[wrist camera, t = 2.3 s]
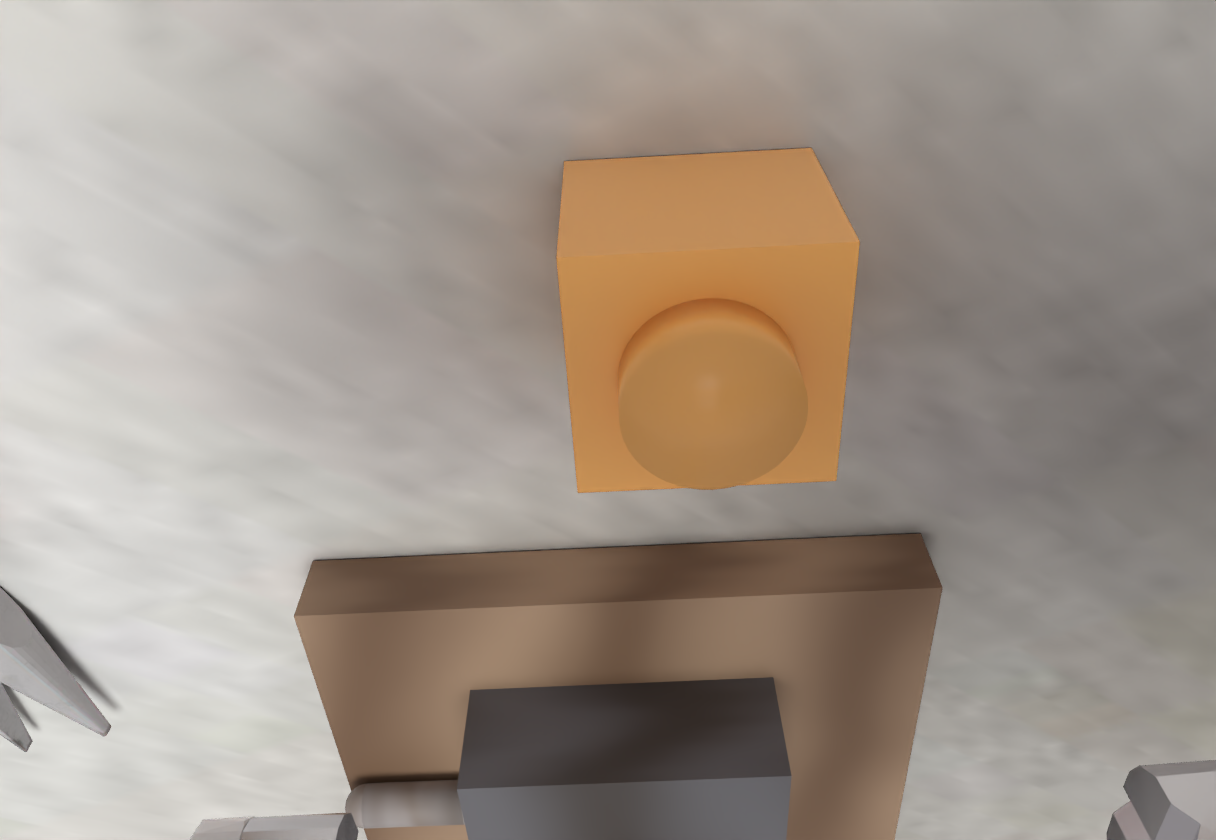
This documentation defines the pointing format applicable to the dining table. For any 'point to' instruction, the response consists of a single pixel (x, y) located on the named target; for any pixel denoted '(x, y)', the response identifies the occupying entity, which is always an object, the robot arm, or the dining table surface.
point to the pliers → (37, 677)
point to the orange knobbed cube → (705, 319)
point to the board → (626, 688)
